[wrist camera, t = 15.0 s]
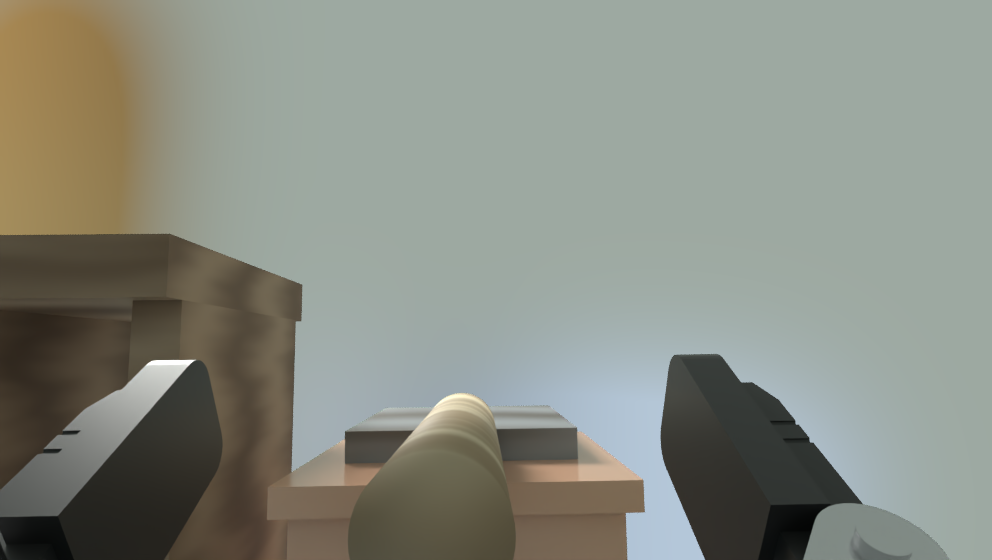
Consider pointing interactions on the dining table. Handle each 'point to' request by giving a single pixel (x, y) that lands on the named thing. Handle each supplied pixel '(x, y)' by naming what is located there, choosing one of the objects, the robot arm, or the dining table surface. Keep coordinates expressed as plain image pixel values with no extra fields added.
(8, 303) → the plant stand
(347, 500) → the terracotta pedestal
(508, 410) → the trowel
